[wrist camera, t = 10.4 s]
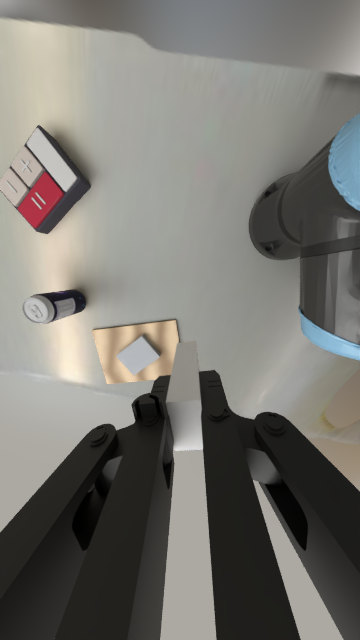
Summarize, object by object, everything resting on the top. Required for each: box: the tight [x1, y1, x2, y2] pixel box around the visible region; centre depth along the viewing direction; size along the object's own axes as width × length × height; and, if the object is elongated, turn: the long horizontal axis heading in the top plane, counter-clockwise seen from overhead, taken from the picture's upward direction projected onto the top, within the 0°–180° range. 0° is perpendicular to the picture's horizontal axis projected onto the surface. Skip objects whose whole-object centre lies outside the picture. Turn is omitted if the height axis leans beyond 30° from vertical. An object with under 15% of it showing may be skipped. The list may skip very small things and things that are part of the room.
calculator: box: [0, 125, 91, 234], centre depth 35 cm, size 11×4×15 cm
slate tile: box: [116, 334, 161, 375], centre depth 44 cm, size 2×7×9 cm
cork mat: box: [92, 320, 179, 384], centre depth 45 cm, size 22×16×1 cm
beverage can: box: [22, 290, 86, 324], centre depth 37 cm, size 6×6×12 cm
